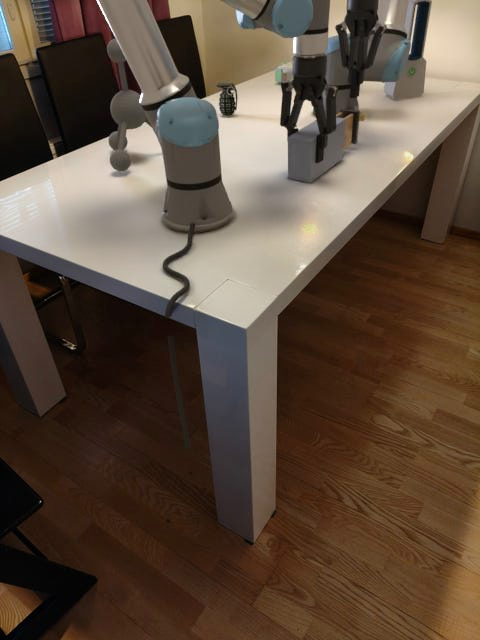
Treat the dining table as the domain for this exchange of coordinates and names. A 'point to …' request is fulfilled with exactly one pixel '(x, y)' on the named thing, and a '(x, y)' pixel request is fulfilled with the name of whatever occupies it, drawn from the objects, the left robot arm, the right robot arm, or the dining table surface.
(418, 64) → the electronic device
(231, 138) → the dining table surface
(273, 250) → the dining table surface
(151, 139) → the dining table surface
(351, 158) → the dining table surface
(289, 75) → the decorative block
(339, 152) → the cabinet
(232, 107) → the grenade
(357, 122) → the drawer
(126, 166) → the molecular model
